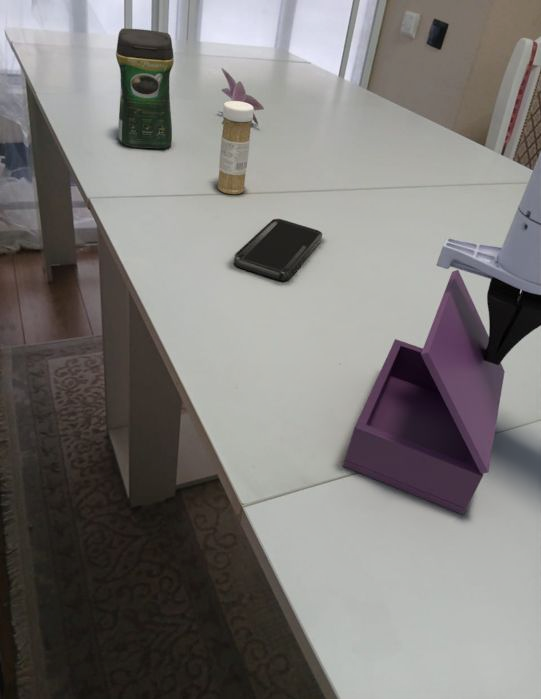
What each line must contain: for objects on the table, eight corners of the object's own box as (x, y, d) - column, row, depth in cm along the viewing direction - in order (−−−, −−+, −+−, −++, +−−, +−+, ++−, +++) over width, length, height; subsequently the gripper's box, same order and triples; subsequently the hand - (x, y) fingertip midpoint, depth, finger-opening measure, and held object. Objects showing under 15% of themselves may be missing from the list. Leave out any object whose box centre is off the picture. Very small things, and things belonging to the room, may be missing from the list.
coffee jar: (170, 137, 114) (174, 29, 102) (172, 152, 107) (176, 38, 96) (118, 133, 111) (116, 22, 100) (117, 148, 105) (114, 31, 94)
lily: (260, 140, 123) (280, 95, 121) (209, 112, 117) (229, 65, 116) (243, 139, 133) (261, 97, 131) (196, 113, 128) (214, 70, 126)
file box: (342, 466, 52) (354, 426, 49) (383, 375, 63) (395, 338, 60) (462, 515, 49) (483, 476, 46) (483, 411, 60) (500, 374, 58)
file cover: (420, 354, 43) (428, 352, 43) (451, 271, 54) (458, 269, 54) (480, 474, 46) (488, 472, 46) (498, 372, 58) (504, 371, 57)
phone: (231, 257, 77) (275, 217, 88) (230, 264, 77) (274, 224, 89) (288, 275, 75) (325, 232, 86) (287, 283, 75) (323, 239, 87)
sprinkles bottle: (237, 183, 100) (246, 99, 92) (249, 194, 97) (259, 109, 89) (212, 185, 98) (219, 99, 90) (223, 196, 95) (231, 109, 87)
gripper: (652, 225, 47) (575, 361, 55) (468, 176, 50) (422, 310, 58) (662, 261, 41) (576, 405, 49) (456, 203, 45) (407, 347, 53)
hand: (492, 357), depth 53 cm, fingers closed
